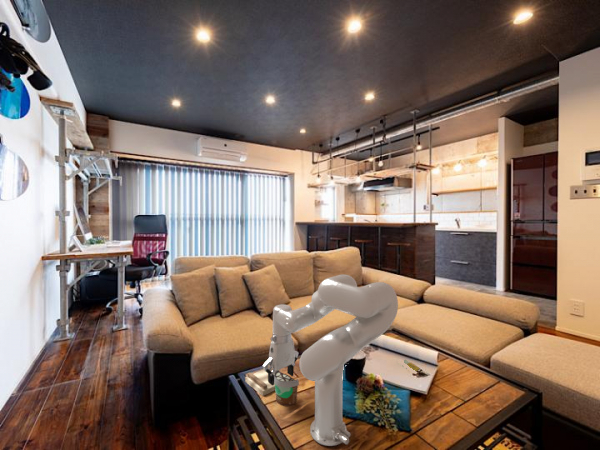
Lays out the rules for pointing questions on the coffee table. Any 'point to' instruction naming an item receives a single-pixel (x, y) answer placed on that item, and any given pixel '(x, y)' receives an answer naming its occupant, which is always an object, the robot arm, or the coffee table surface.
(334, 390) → the robot arm
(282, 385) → the food container
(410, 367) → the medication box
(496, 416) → the coffee table surface
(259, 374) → the base plate
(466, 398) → the coffee table surface
